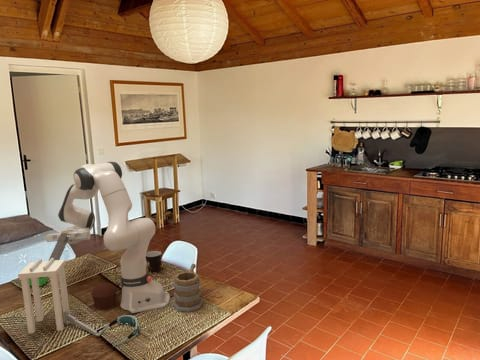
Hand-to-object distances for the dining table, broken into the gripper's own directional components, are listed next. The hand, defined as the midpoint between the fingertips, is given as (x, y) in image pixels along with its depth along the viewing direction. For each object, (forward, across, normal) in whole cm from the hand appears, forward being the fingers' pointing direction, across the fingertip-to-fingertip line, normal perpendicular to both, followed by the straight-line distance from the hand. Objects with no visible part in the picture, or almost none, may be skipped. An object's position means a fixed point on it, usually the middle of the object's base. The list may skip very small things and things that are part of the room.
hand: (63, 237), depth 181 cm
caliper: (+27, +14, +36) cm, 47 cm away
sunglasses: (+33, +30, +38) cm, 59 cm away
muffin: (+8, +20, +32) cm, 39 cm away
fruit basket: (-19, -22, +25) cm, 38 cm away
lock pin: (+6, 0, +6) cm, 8 cm away
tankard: (+12, +59, +34) cm, 69 cm away
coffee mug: (-24, +39, +25) cm, 52 cm away
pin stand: (+21, 0, +34) cm, 41 cm away
